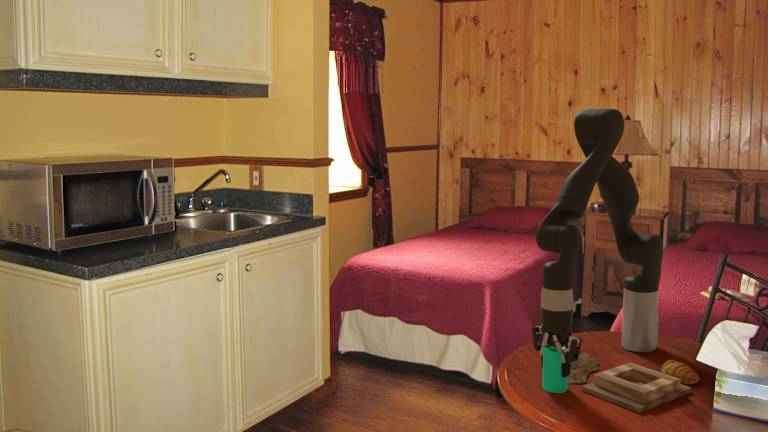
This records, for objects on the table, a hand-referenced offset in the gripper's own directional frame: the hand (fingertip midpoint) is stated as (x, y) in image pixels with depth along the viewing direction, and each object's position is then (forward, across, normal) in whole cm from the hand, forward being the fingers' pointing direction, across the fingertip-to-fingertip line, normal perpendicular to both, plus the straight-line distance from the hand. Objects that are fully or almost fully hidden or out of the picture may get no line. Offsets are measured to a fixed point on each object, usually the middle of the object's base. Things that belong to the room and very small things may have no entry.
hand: (555, 372), depth 169 cm
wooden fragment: (+5, +6, -15) cm, 17 cm away
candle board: (+4, -13, -14) cm, 20 cm away
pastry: (+4, -14, -31) cm, 34 cm away
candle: (+4, 0, 0) cm, 4 cm away
